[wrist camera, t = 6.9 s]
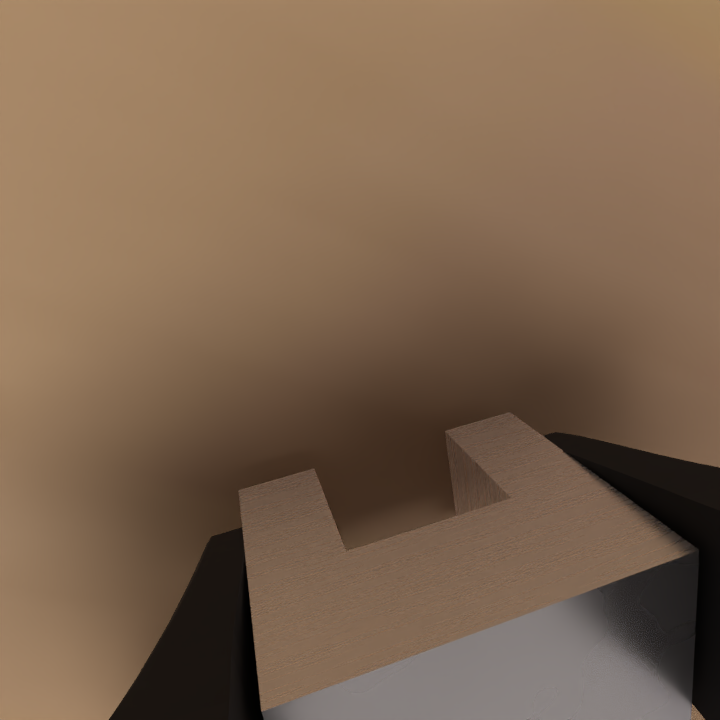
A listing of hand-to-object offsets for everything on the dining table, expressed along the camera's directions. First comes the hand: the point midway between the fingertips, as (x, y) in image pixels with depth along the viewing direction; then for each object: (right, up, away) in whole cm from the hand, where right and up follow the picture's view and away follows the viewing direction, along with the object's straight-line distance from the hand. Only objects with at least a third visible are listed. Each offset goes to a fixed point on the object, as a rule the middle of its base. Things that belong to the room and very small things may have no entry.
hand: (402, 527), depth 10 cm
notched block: (0, 0, +1) cm, 1 cm away
